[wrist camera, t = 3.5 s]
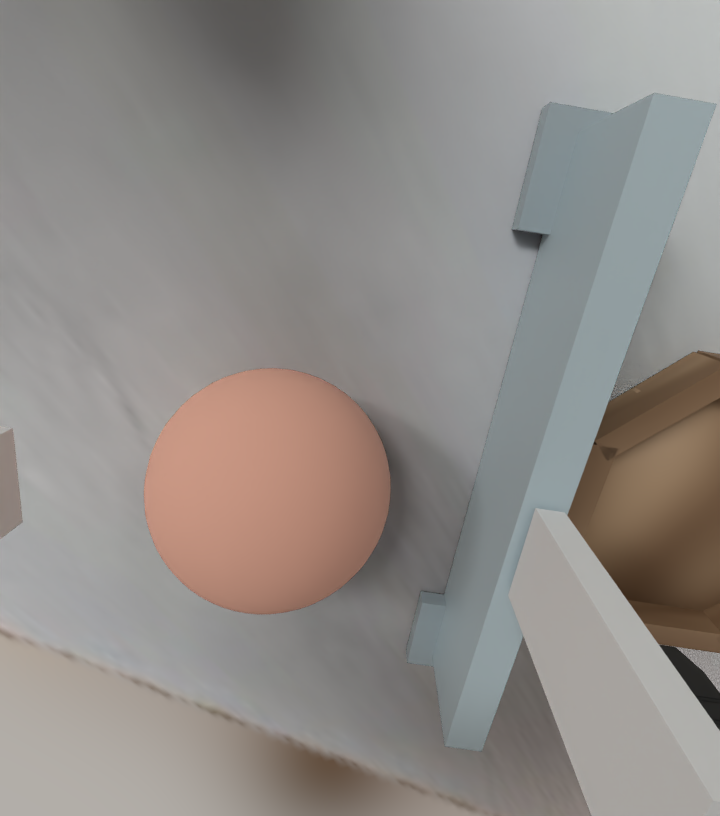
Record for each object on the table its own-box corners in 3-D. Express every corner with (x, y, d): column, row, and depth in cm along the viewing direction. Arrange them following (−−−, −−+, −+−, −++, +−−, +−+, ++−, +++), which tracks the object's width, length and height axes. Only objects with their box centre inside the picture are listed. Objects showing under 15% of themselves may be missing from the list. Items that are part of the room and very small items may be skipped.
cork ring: (514, 594, 18) (526, 625, 16) (602, 335, 14) (627, 346, 13) (769, 631, 18) (802, 665, 17) (916, 386, 15) (975, 402, 13)
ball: (194, 505, 17) (94, 655, 11) (201, 329, 15) (80, 395, 9) (371, 531, 17) (368, 694, 11) (403, 361, 15) (423, 449, 9)
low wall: (406, 649, 19) (414, 753, 15) (542, 108, 12) (616, 52, 9) (479, 660, 19) (505, 765, 15) (653, 127, 12) (775, 81, 9)
